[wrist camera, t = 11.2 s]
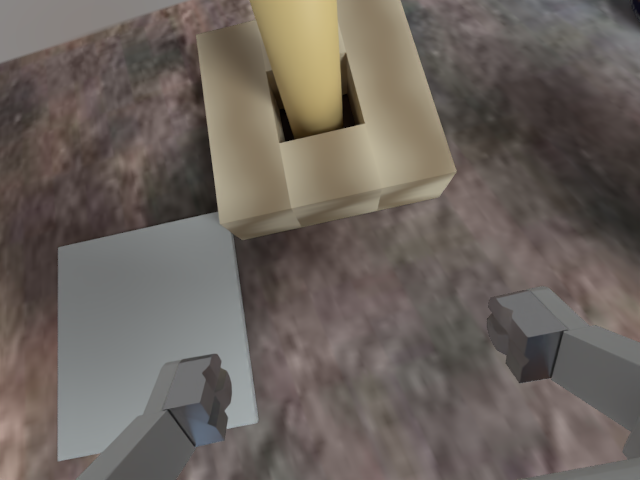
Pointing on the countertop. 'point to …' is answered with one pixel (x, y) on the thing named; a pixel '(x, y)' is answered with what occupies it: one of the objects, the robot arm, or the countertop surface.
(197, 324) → the mat
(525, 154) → the countertop surface
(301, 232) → the countertop surface
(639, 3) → the dark blue cylinder
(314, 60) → the peg
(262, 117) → the hole block
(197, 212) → the countertop surface
